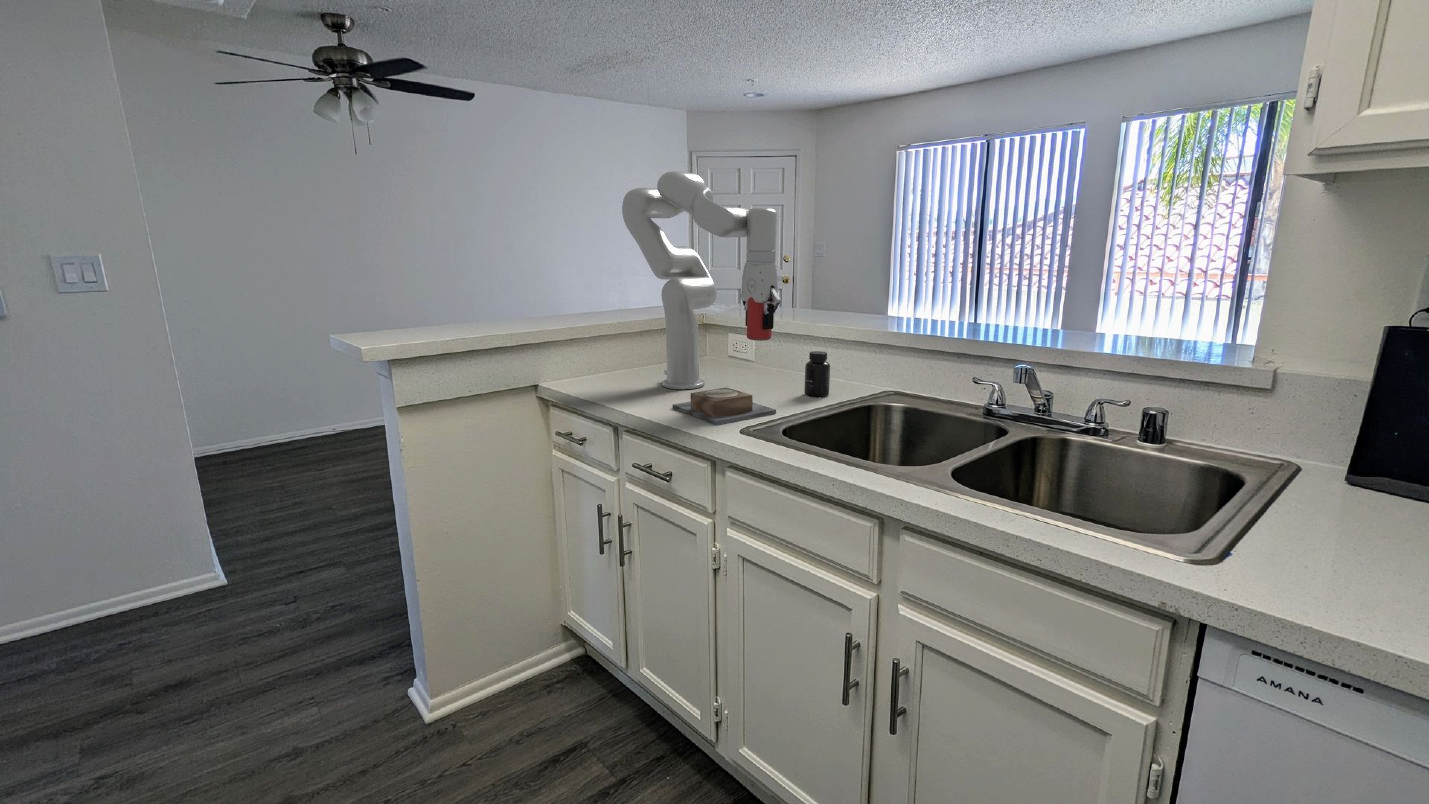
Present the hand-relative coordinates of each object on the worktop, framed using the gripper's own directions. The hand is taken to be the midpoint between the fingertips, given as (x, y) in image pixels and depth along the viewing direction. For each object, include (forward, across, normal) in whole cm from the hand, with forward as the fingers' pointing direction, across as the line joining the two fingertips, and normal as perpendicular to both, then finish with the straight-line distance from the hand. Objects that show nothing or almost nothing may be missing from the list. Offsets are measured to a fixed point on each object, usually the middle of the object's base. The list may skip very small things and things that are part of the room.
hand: (759, 326), depth 177 cm
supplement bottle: (+20, +6, +16) cm, 26 cm away
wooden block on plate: (+20, +5, -15) cm, 25 cm away
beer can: (+3, 0, 0) cm, 3 cm away
